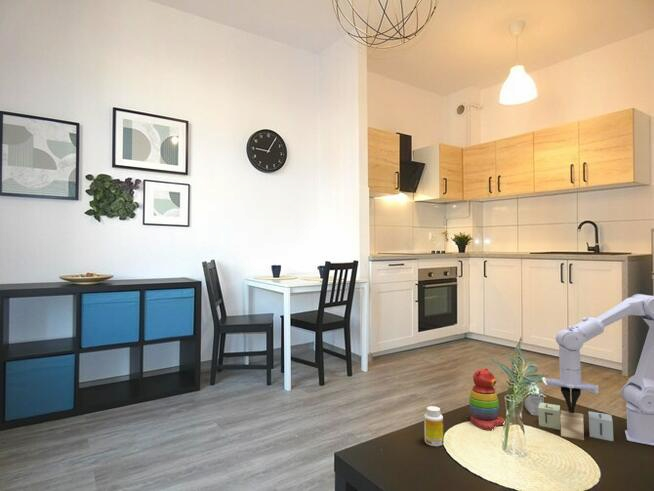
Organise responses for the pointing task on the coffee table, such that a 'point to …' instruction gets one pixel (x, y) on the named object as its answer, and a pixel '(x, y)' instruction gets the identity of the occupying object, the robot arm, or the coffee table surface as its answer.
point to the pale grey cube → (601, 426)
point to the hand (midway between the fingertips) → (571, 412)
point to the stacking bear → (484, 401)
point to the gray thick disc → (533, 404)
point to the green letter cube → (549, 415)
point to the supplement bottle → (433, 426)
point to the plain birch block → (572, 425)
